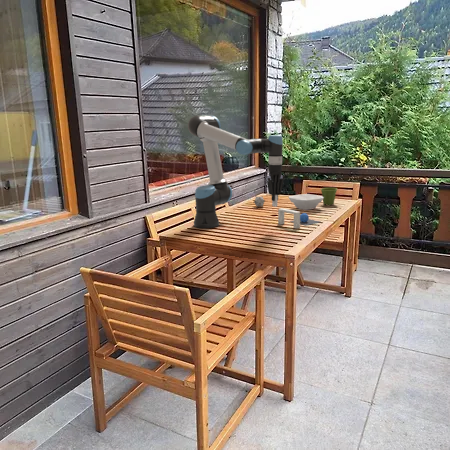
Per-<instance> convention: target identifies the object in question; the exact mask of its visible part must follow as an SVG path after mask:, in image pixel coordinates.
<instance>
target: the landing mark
mask: <svg viewBox="0 0 450 450" xmlns="http://www.w3.org/2000/svg"><path fill="white" fill-rule="evenodd" d="M289 223H293V224H294V220H291V221H289ZM318 223H321V221H319V220H315V219H310V218H309V219H308V221H307V222H301V221H300V226H302V225H303V226H311V225H314V224H318Z"/></svg>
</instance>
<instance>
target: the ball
mask: <svg viewBox="0 0 450 450" xmlns="http://www.w3.org/2000/svg"><path fill="white" fill-rule="evenodd" d="M309 217H310V216H309V214H307V213H305V212H304V213H300V221H301V222H307V221H308V219H310V218H309Z"/></svg>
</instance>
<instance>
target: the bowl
mask: <svg viewBox="0 0 450 450" xmlns="http://www.w3.org/2000/svg"><path fill="white" fill-rule="evenodd" d="M323 198H324V197H322V195H317V194H310V193H302V194H295V195H289V196H288V200H290V202H291V203H293V204H294V207H295V208H297V209H298V210H304V211H308V210H313V209H316V208H317V206H318V205H319V204H320V203H322V201H323Z"/></svg>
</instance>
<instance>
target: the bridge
mask: <svg viewBox="0 0 450 450" xmlns="http://www.w3.org/2000/svg"><path fill="white" fill-rule="evenodd" d="M277 213H278V216H277V217H278V219H277V221H278V223H277V224H278V225H284V224H285V213H286V214H291V215H293V221H294V223H293V229H300V228H301V224H300V215H301V211H297V210H293V209H288V208H282V207H281V208H278V211H277Z"/></svg>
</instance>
